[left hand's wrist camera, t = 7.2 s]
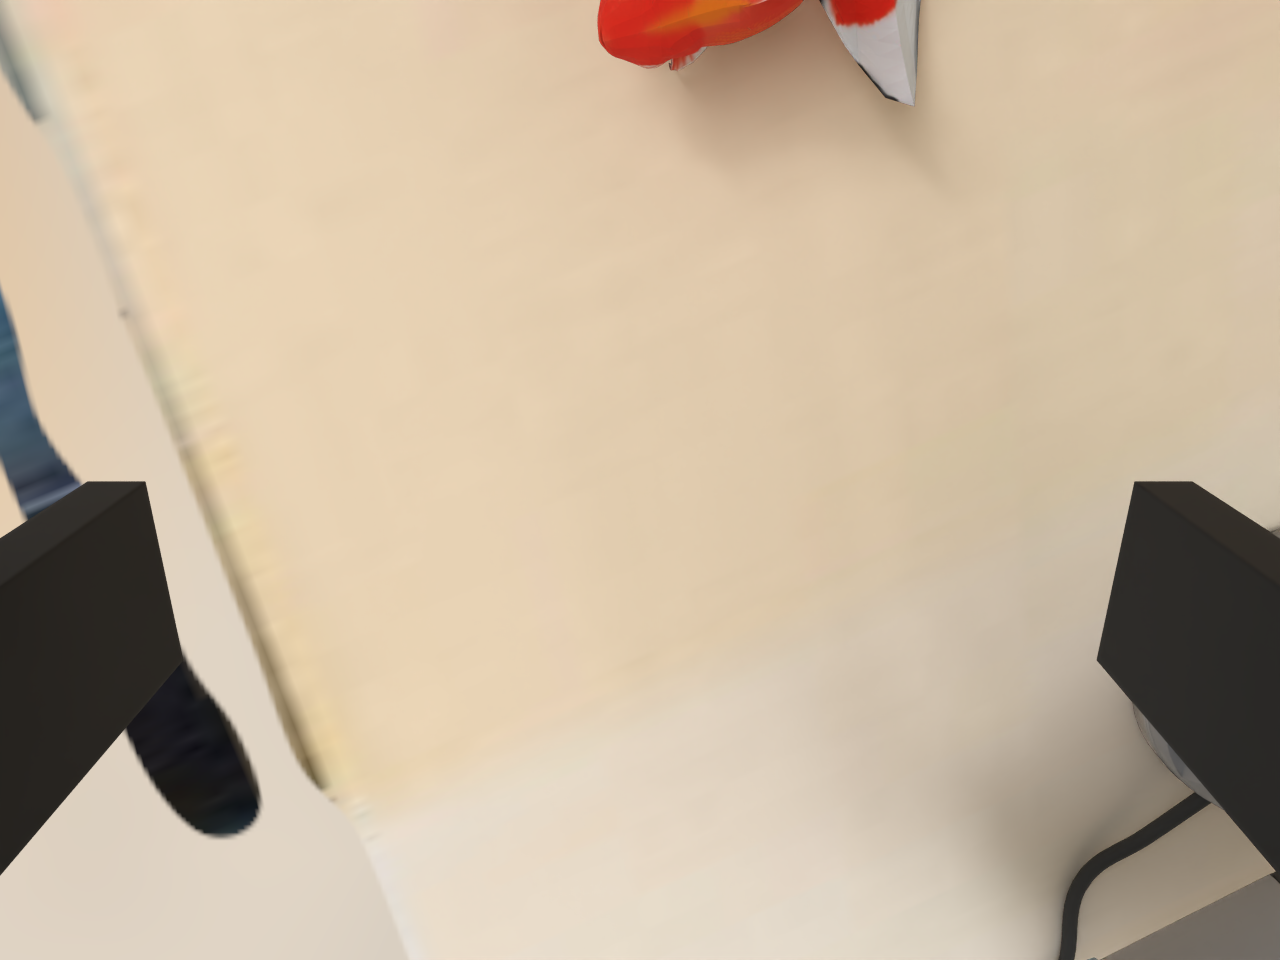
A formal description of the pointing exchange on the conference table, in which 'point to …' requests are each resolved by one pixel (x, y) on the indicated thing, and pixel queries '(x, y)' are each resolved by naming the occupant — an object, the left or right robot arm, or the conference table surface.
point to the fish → (749, 3)
